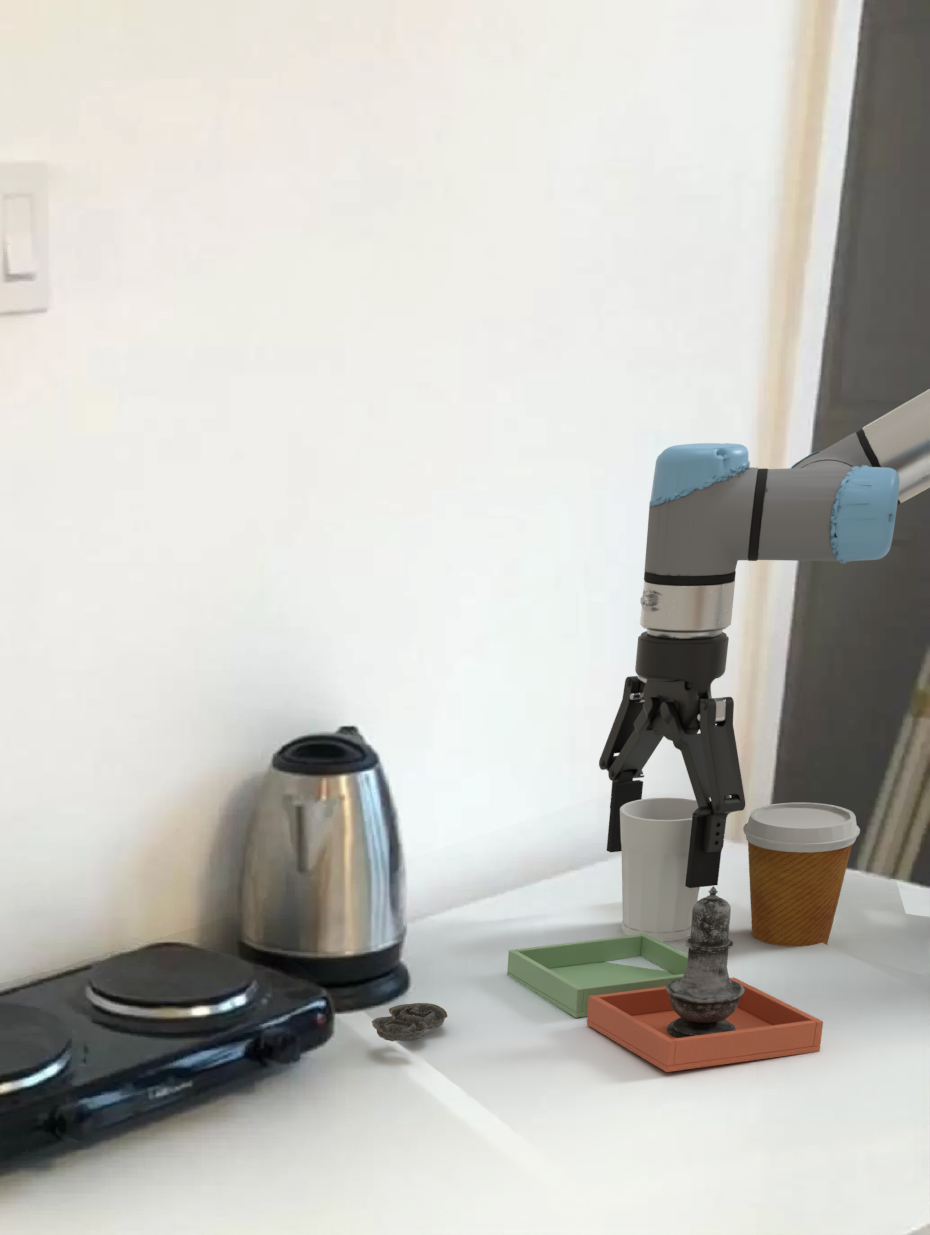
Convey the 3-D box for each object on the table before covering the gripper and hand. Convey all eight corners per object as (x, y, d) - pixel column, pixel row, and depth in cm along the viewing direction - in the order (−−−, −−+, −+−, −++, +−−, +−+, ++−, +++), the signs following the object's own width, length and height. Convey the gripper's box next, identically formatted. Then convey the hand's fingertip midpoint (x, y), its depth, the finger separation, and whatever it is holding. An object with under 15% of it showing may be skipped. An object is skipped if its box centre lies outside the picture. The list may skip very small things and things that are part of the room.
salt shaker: (649, 1034, 164) (659, 890, 159) (684, 1012, 167) (695, 871, 162) (719, 1049, 160) (732, 902, 155) (754, 1026, 163) (767, 882, 158)
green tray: (642, 960, 183) (644, 933, 182) (719, 999, 172) (721, 971, 171) (506, 977, 181) (508, 950, 180) (575, 1018, 170) (577, 989, 169)
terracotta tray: (731, 1005, 170) (734, 977, 170) (819, 1051, 159) (823, 1021, 158) (586, 1024, 168) (588, 995, 167) (666, 1072, 157) (668, 1041, 156)
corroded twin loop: (358, 1039, 168) (358, 1027, 168) (404, 1009, 174) (404, 997, 173) (414, 1049, 165) (414, 1037, 165) (458, 1018, 171) (459, 1006, 170)
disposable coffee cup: (850, 963, 179) (865, 830, 174) (734, 960, 182) (745, 829, 177) (843, 929, 187) (857, 801, 182) (732, 926, 190) (743, 800, 185)
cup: (615, 949, 187) (623, 821, 182) (609, 922, 194) (617, 798, 189) (707, 949, 185) (718, 820, 180) (698, 921, 192) (708, 796, 187)
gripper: (573, 616, 189) (555, 840, 197) (725, 654, 167) (698, 906, 175) (647, 609, 190) (626, 833, 199) (808, 647, 168) (777, 897, 176)
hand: (660, 867), depth 187 cm, fingers open, 13 cm apart
